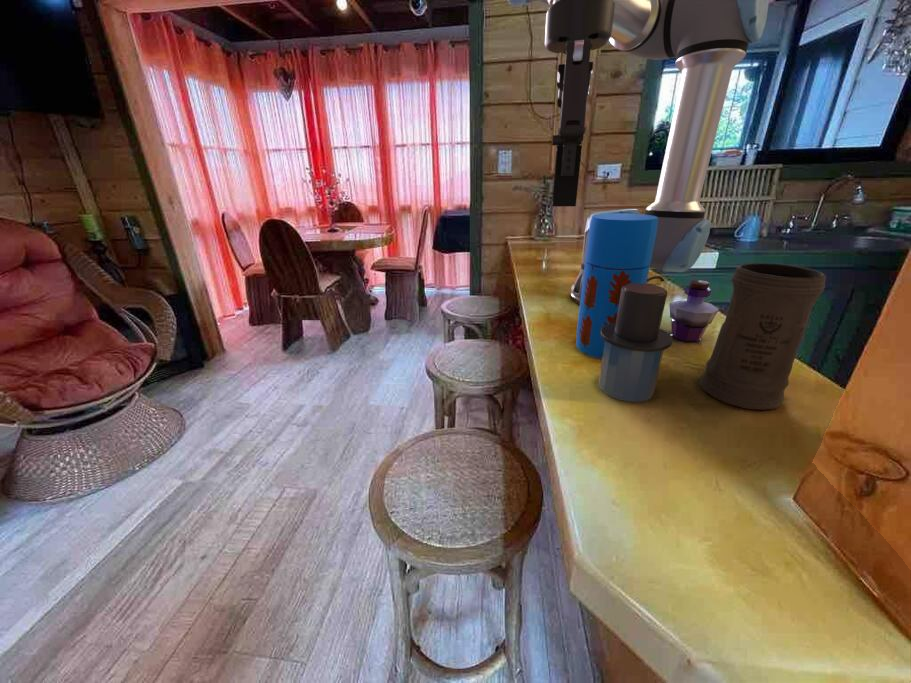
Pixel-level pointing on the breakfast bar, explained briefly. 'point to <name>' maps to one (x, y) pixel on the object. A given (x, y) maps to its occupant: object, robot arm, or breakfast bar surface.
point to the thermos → (611, 271)
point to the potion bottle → (692, 313)
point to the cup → (629, 373)
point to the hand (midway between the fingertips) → (562, 202)
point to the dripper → (639, 319)
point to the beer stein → (761, 334)
